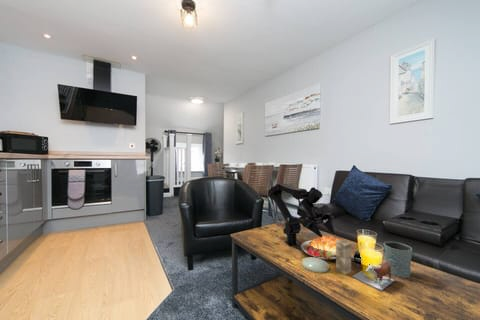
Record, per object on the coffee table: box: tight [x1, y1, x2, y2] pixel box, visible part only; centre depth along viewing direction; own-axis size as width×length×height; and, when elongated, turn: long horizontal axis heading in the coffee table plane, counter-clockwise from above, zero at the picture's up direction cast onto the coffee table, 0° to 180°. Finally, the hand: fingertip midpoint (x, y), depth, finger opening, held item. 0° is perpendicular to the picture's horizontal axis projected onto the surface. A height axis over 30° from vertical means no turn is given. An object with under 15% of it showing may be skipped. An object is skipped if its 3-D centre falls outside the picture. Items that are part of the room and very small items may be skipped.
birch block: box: [335, 239, 352, 275], centre depth 89 cm, size 4×4×13 cm
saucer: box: [301, 256, 330, 274], centre depth 93 cm, size 12×12×1 cm
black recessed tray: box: [351, 251, 362, 266], centre depth 97 cm, size 12×7×5 cm, turn 49°
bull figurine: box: [365, 261, 392, 287], centre depth 80 cm, size 4×13×8 cm, turn 113°
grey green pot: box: [383, 241, 413, 279], centre depth 88 cm, size 10×10×12 cm
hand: (328, 235), depth 96 cm, fingers open, 9 cm apart
